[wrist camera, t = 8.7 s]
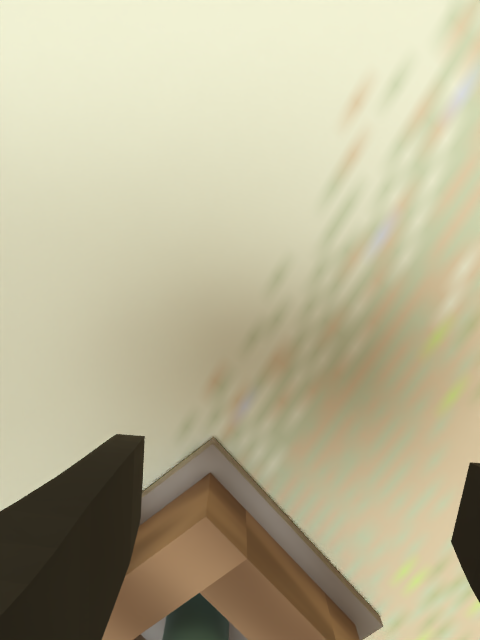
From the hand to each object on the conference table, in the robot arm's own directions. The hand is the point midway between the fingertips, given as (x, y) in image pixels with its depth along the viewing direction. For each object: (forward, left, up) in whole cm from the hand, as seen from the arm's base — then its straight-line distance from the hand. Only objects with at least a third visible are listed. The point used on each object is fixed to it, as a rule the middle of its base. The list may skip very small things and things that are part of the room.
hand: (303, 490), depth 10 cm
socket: (-11, -8, -10) cm, 17 cm away
